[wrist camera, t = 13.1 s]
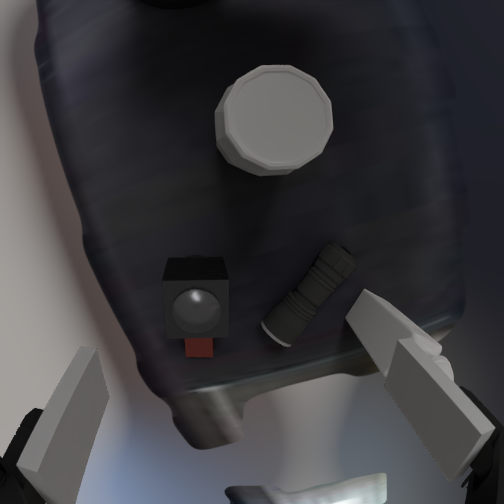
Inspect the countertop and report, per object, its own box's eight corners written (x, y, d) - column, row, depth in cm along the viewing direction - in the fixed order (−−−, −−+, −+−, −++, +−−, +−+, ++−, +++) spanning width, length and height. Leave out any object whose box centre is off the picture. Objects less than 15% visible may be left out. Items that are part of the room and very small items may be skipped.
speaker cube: (168, 257, 40) (161, 282, 32) (223, 257, 41) (229, 281, 33) (171, 307, 42) (166, 340, 34) (222, 306, 43) (229, 339, 35)
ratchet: (174, 255, 42) (167, 271, 36) (219, 255, 43) (219, 271, 37) (180, 349, 46) (176, 375, 40) (219, 349, 47) (220, 375, 41)
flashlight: (326, 233, 44) (340, 242, 39) (352, 255, 45) (368, 266, 40) (258, 315, 46) (263, 334, 41) (286, 333, 48) (294, 352, 42)
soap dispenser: (391, 300, 48) (474, 376, 27) (369, 332, 49) (439, 419, 28) (363, 284, 47) (447, 364, 26) (340, 319, 48) (408, 413, 27)
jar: (203, 112, 37) (194, 76, 20) (276, 89, 37) (318, 44, 20) (229, 182, 40) (239, 198, 23) (300, 158, 40) (358, 159, 23)
